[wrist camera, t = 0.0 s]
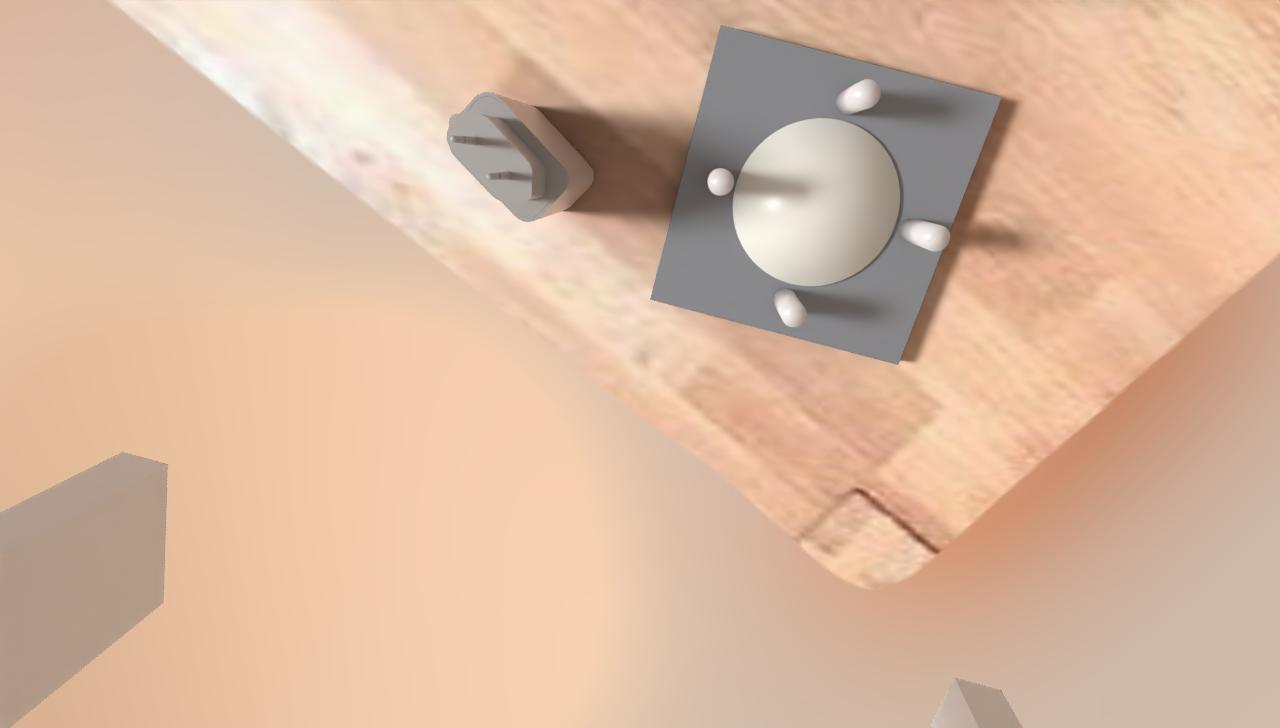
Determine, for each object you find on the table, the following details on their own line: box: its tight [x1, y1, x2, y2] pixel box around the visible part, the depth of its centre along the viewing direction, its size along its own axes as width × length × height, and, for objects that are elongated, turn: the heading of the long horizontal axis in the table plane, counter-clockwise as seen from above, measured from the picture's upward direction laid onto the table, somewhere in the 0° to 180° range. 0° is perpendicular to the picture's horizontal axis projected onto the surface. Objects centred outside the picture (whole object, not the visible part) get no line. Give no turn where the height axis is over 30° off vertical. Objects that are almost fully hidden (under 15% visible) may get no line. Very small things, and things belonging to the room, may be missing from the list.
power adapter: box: [447, 92, 594, 222], centre depth 30 cm, size 3×5×12 cm, turn 44°
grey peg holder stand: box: [650, 25, 1002, 365], centre depth 33 cm, size 14×14×5 cm
